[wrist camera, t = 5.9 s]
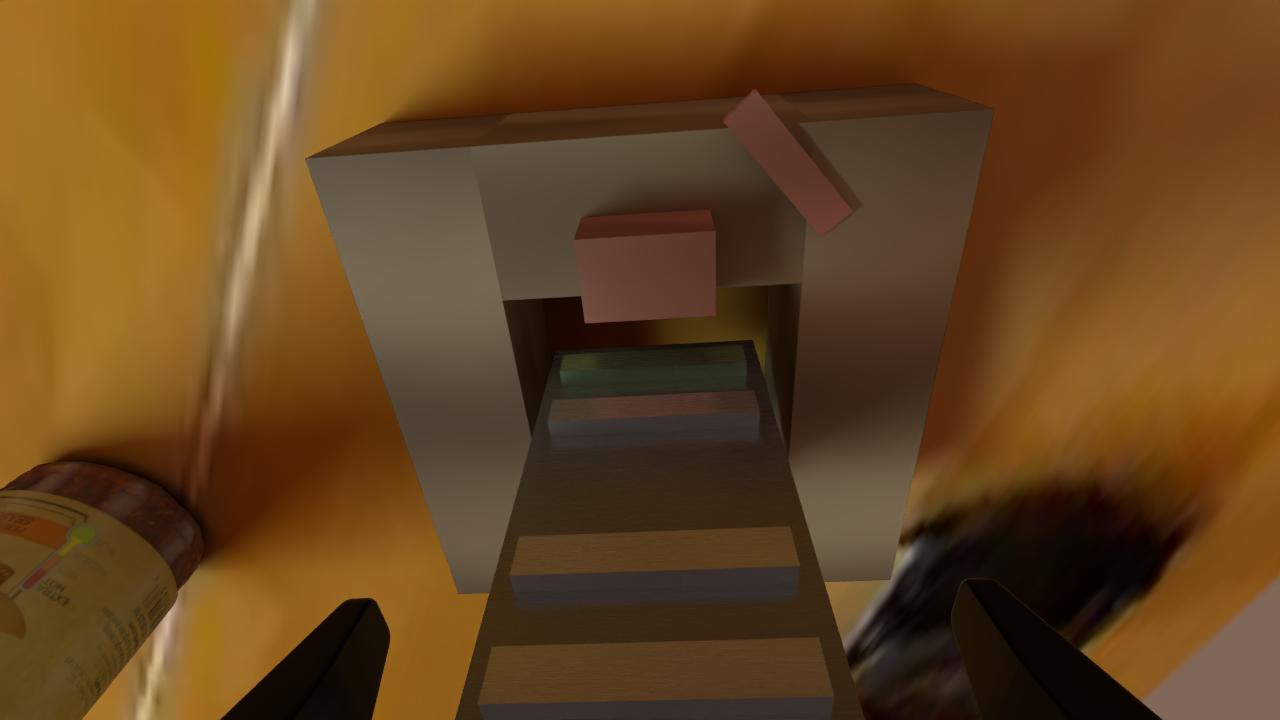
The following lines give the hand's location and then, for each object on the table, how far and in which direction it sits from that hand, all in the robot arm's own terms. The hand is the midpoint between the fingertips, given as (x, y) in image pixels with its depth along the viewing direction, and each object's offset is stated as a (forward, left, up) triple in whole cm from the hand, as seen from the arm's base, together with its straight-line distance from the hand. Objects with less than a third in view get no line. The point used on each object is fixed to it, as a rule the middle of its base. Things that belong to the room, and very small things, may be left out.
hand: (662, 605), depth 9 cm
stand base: (0, 0, -8) cm, 8 cm away
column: (0, 0, -5) cm, 5 cm away
